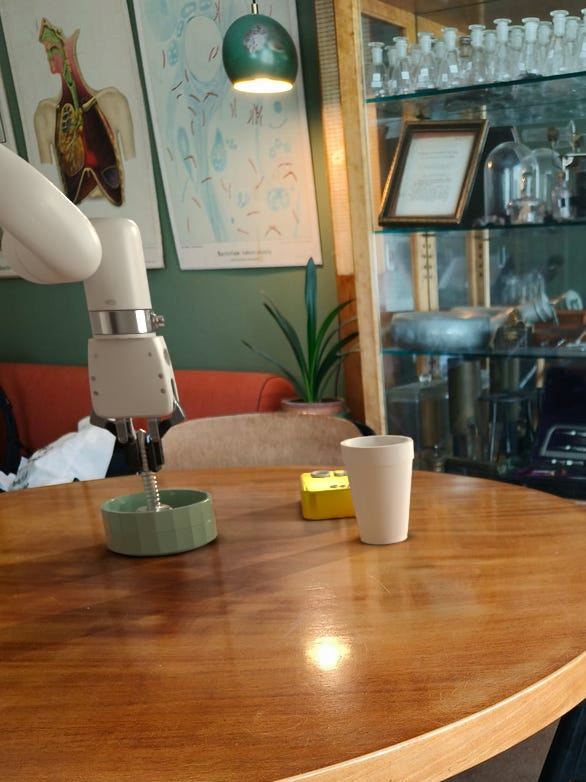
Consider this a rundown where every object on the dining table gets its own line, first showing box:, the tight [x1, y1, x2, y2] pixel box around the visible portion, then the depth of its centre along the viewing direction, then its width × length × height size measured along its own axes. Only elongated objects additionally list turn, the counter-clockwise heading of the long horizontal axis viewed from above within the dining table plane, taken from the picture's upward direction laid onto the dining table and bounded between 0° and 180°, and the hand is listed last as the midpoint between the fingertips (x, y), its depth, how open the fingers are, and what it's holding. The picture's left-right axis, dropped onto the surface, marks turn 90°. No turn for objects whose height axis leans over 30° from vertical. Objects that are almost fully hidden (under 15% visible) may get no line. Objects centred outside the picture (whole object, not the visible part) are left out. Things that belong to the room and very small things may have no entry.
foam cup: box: [340, 434, 415, 545], centre depth 117 cm, size 10×9×13 cm
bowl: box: [99, 488, 219, 557], centre depth 120 cm, size 14×14×6 cm
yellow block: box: [298, 469, 356, 521], centre depth 137 cm, size 15×15×5 cm
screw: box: [135, 428, 172, 512], centre depth 119 cm, size 13×5×5 cm
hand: (146, 470), depth 118 cm, fingers closed on screw, 2 cm apart
